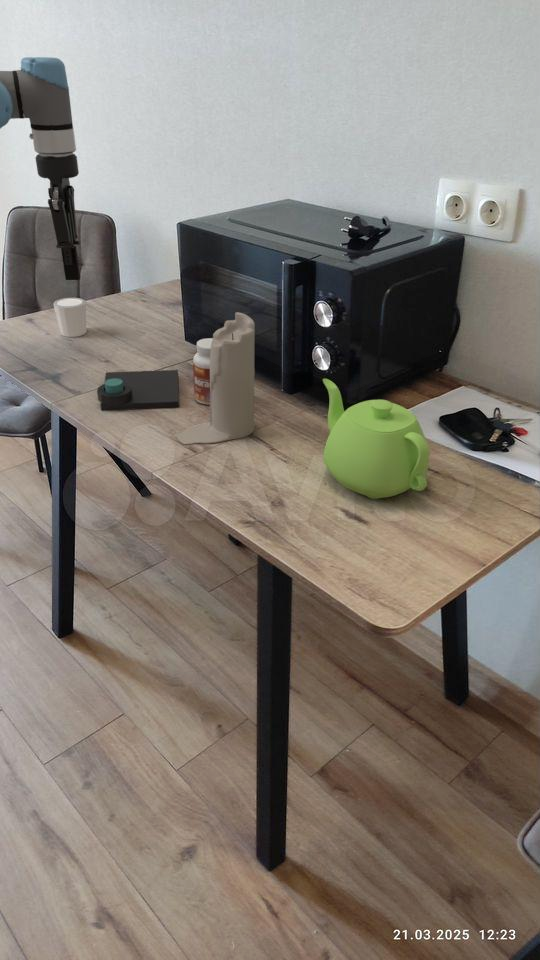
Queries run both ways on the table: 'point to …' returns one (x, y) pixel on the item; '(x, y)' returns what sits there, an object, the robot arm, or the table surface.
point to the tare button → (114, 386)
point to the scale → (141, 390)
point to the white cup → (71, 316)
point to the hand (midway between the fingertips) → (72, 278)
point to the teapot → (375, 447)
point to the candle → (228, 385)
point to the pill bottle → (202, 371)
